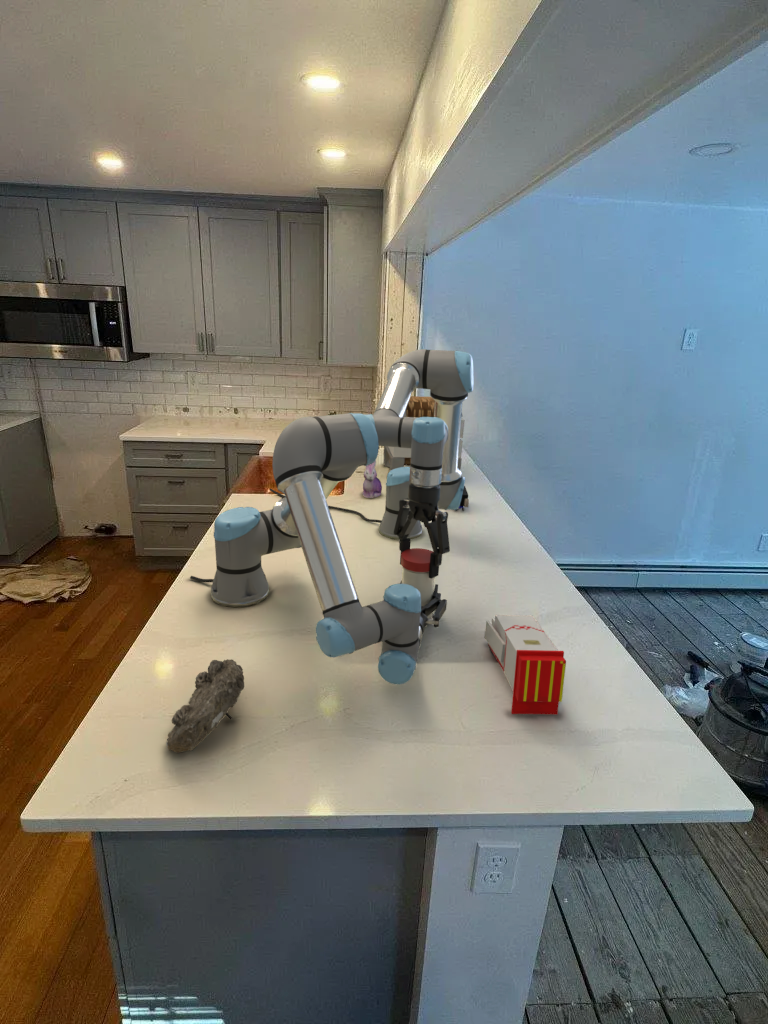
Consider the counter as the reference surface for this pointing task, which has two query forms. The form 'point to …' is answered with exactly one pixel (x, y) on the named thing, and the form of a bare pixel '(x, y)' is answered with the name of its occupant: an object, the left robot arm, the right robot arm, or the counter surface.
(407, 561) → the lid
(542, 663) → the toy
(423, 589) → the jar
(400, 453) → the grey slatted crate
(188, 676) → the counter surface
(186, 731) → the fossil
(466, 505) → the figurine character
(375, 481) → the figurine
